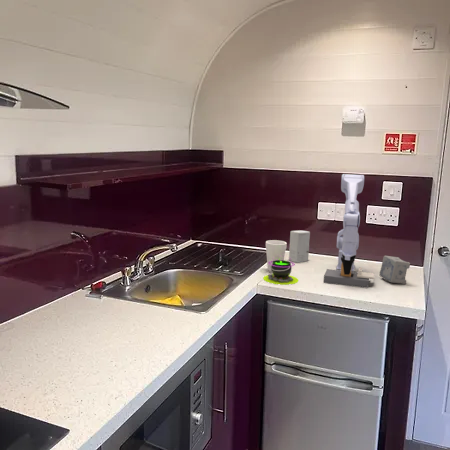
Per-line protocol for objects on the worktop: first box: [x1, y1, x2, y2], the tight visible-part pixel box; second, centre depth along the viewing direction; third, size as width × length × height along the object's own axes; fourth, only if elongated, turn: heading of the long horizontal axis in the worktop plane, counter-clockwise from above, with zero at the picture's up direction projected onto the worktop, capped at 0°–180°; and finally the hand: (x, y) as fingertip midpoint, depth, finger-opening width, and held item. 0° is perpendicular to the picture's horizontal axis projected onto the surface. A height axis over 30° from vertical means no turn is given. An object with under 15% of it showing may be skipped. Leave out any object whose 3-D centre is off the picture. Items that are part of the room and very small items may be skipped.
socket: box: [323, 268, 370, 289], centre depth 199 cm, size 11×18×3 cm, turn 71°
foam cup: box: [265, 239, 288, 273], centre depth 212 cm, size 10×9×13 cm
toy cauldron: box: [262, 253, 299, 286], centre depth 198 cm, size 15×15×11 cm
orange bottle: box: [340, 263, 352, 277], centre depth 199 cm, size 4×4×8 cm
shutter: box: [357, 267, 375, 280], centre depth 196 cm, size 7×7×3 cm
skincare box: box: [288, 229, 311, 264], centre depth 230 cm, size 8×6×15 cm
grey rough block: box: [379, 255, 411, 285], centre depth 201 cm, size 10×8×10 cm
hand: (347, 272), depth 199 cm, fingers closed on orange bottle, 4 cm apart
